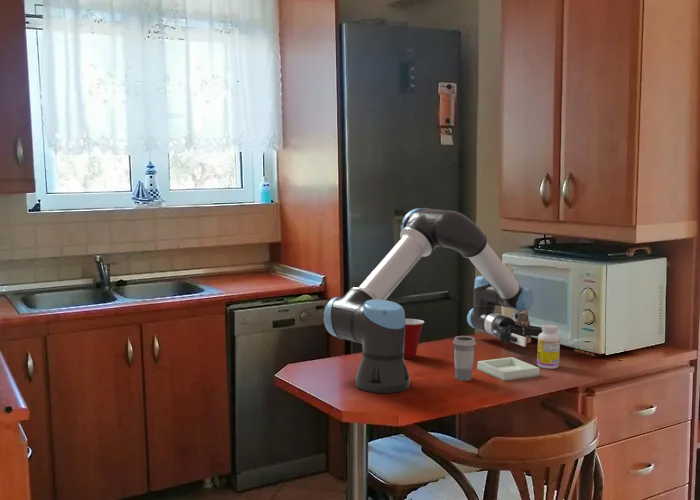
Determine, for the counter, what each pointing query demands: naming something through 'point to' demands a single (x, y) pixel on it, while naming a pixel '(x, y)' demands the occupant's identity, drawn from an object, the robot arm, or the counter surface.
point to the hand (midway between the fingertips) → (542, 340)
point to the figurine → (523, 321)
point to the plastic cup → (412, 337)
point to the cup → (463, 357)
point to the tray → (508, 368)
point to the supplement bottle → (548, 347)
